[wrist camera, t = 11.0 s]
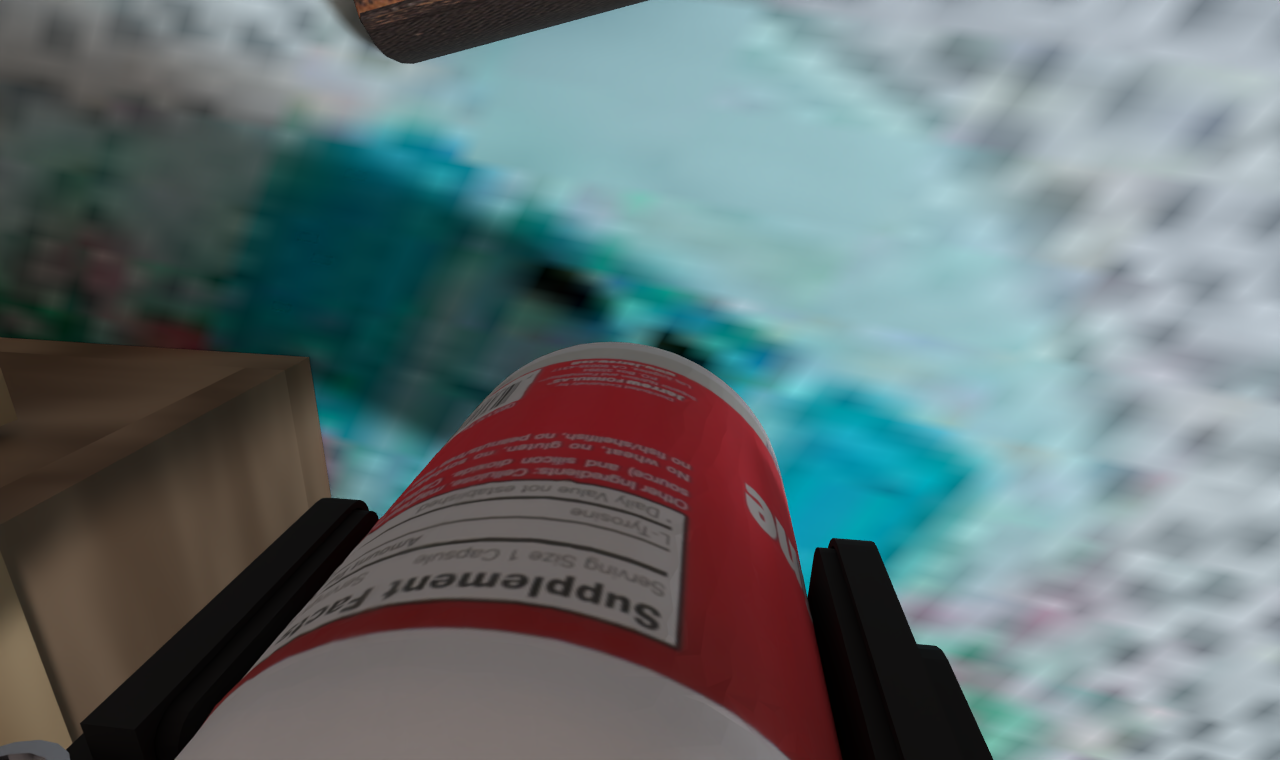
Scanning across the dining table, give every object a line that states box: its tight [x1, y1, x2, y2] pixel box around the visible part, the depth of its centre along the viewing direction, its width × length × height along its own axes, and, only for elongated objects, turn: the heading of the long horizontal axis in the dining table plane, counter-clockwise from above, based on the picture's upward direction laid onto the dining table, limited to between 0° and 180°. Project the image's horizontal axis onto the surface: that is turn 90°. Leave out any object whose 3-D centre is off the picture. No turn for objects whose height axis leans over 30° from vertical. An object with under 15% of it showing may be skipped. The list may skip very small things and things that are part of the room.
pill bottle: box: [174, 342, 843, 760], centre depth 8 cm, size 6×6×11 cm
